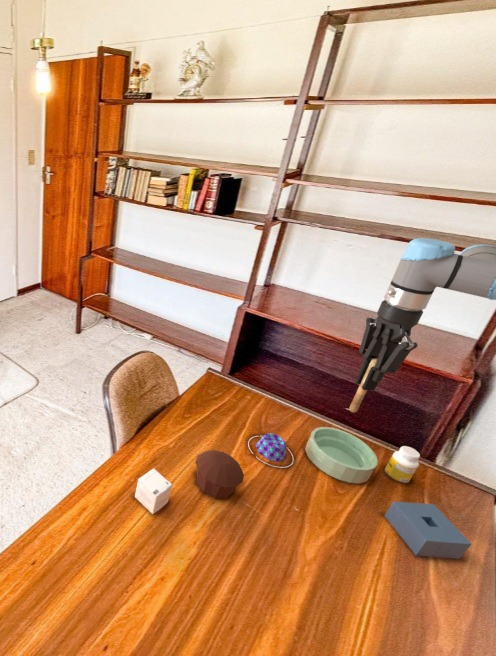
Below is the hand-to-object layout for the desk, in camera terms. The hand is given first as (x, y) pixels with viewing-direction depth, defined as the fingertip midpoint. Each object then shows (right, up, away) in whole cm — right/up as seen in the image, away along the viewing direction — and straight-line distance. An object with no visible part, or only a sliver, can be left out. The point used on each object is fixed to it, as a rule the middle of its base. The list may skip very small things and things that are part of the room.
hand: (364, 386), depth 102 cm
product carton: (-56, -29, -1) cm, 63 cm away
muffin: (-37, -28, +4) cm, 47 cm away
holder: (+7, -35, -7) cm, 36 cm away
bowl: (+2, -25, +13) cm, 28 cm away
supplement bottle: (+16, -28, +9) cm, 33 cm away
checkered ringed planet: (-16, -23, +15) cm, 32 cm away
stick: (0, -8, +4) cm, 8 cm away
